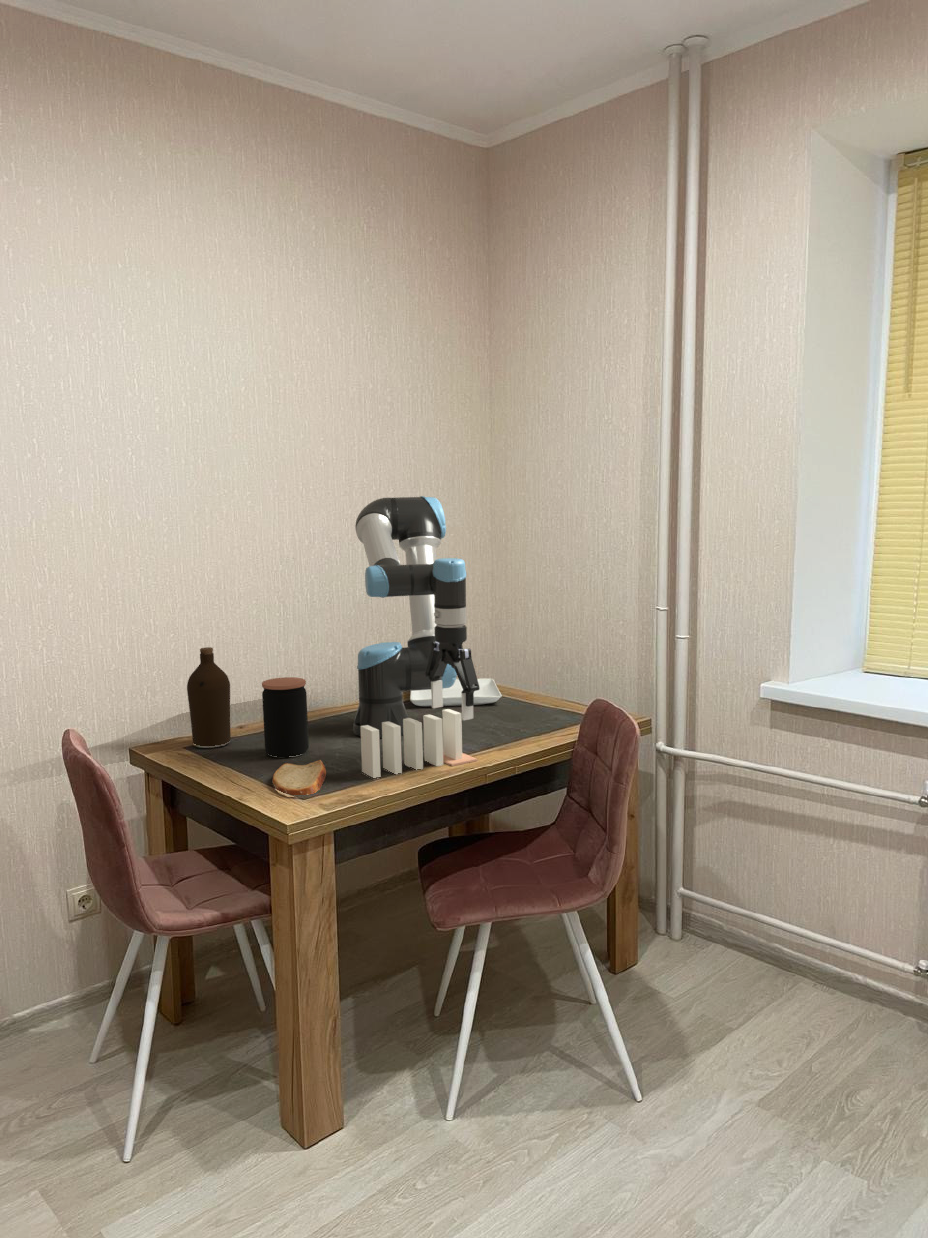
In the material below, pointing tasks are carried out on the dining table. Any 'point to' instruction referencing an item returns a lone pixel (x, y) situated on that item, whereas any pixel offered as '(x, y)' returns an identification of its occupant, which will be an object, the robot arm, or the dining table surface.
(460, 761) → the mat
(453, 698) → the square plate
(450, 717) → the domino
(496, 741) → the dining table surface
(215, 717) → the olive oil
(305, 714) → the coffee jar
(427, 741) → the domino
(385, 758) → the domino
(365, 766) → the domino
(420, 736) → the domino
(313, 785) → the slice of bread
